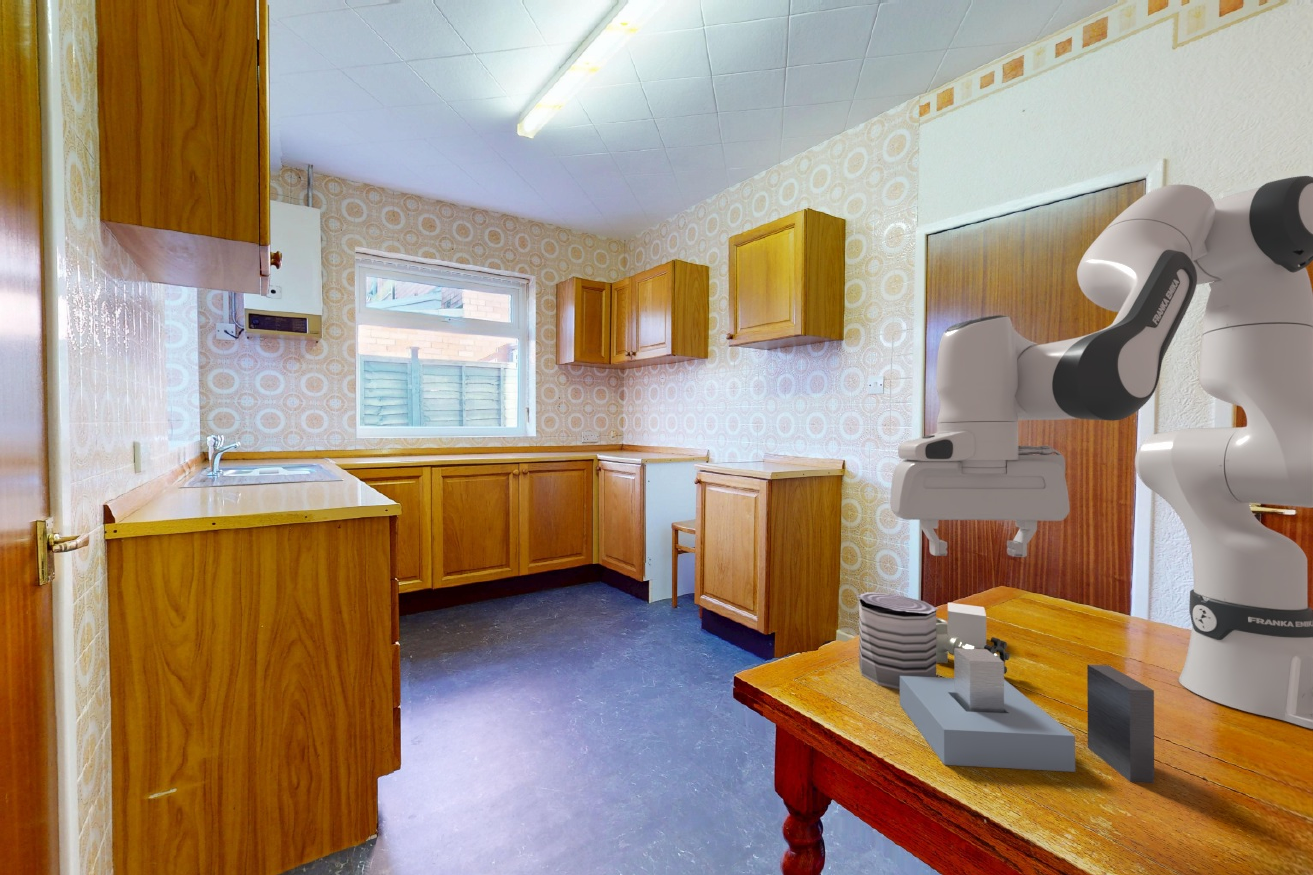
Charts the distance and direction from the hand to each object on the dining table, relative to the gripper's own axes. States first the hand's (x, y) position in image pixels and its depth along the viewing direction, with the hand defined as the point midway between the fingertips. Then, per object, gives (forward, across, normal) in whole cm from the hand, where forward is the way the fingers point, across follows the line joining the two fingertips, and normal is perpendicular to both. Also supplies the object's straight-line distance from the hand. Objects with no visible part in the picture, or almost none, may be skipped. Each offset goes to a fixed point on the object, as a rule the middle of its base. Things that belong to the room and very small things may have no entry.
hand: (977, 555), depth 67 cm
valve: (+23, -7, -21) cm, 32 cm away
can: (+23, +4, -17) cm, 29 cm away
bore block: (+22, 0, 0) cm, 23 cm away
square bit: (+22, 0, 0) cm, 22 cm away
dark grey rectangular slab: (+23, -13, +5) cm, 26 cm away
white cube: (+23, -14, -33) cm, 42 cm away
